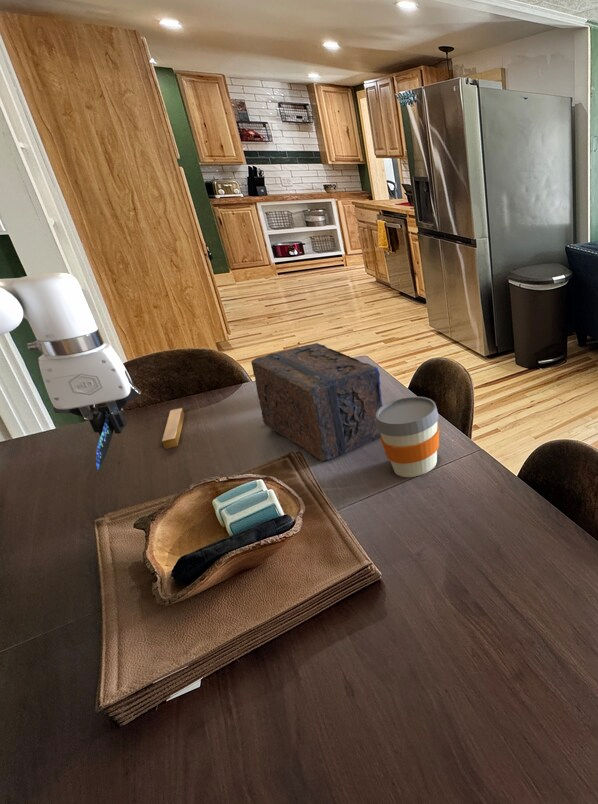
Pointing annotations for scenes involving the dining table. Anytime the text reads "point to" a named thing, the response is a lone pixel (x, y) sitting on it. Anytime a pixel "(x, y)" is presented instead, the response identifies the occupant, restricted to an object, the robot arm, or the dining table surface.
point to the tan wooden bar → (173, 428)
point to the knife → (104, 436)
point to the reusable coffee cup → (409, 434)
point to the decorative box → (319, 398)
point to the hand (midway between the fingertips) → (112, 431)
